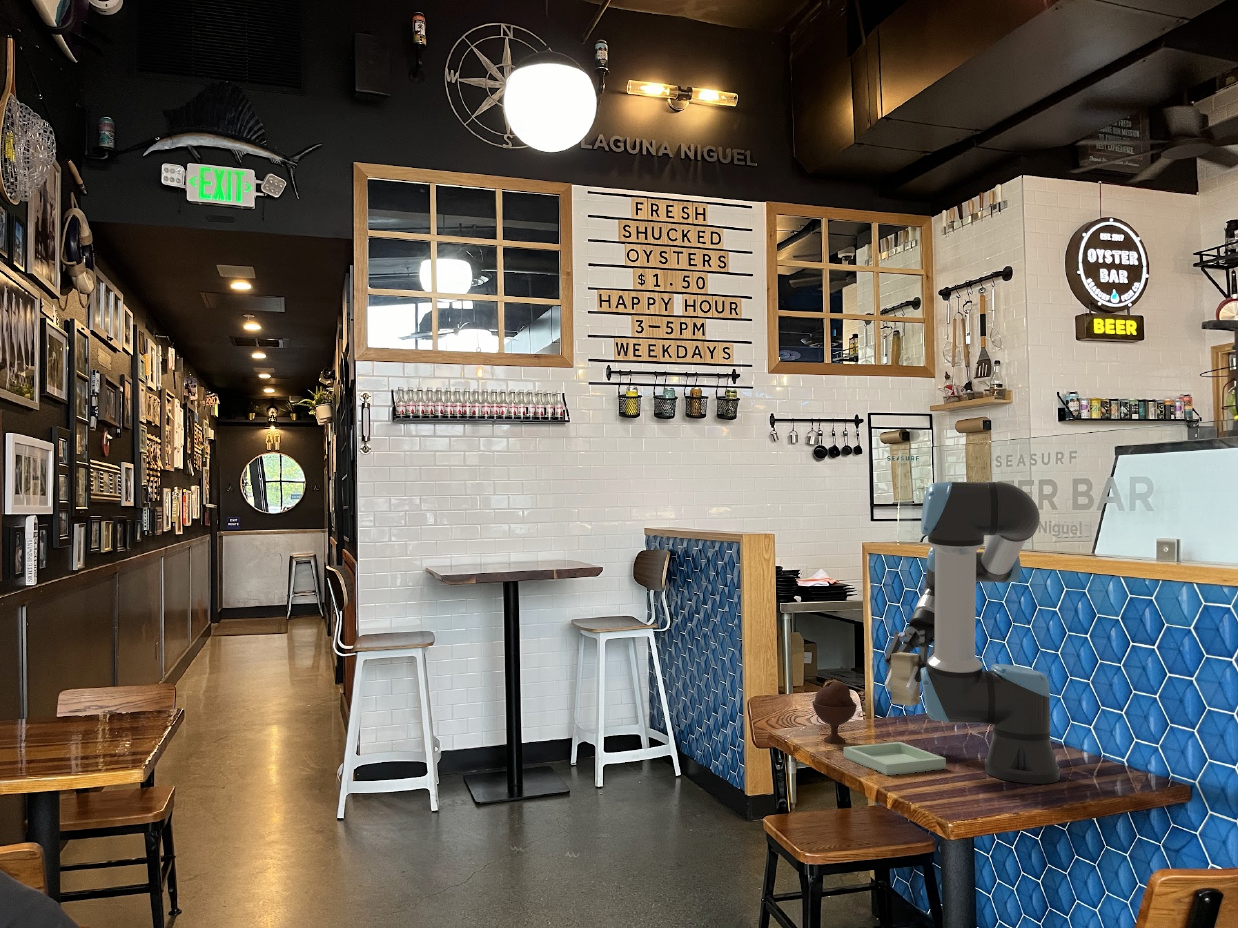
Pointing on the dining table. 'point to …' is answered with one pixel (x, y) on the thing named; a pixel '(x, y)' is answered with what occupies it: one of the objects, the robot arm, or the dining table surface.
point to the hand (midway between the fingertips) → (898, 688)
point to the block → (903, 678)
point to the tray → (894, 758)
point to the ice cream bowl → (834, 708)
